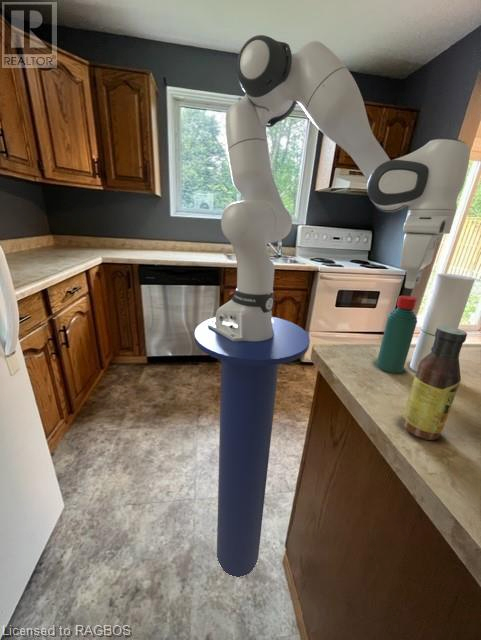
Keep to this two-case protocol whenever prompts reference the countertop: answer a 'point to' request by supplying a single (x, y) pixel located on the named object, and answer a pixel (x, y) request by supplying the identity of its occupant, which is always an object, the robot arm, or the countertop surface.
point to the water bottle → (396, 340)
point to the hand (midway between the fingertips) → (411, 285)
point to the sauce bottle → (435, 385)
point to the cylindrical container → (442, 311)
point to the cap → (406, 302)
